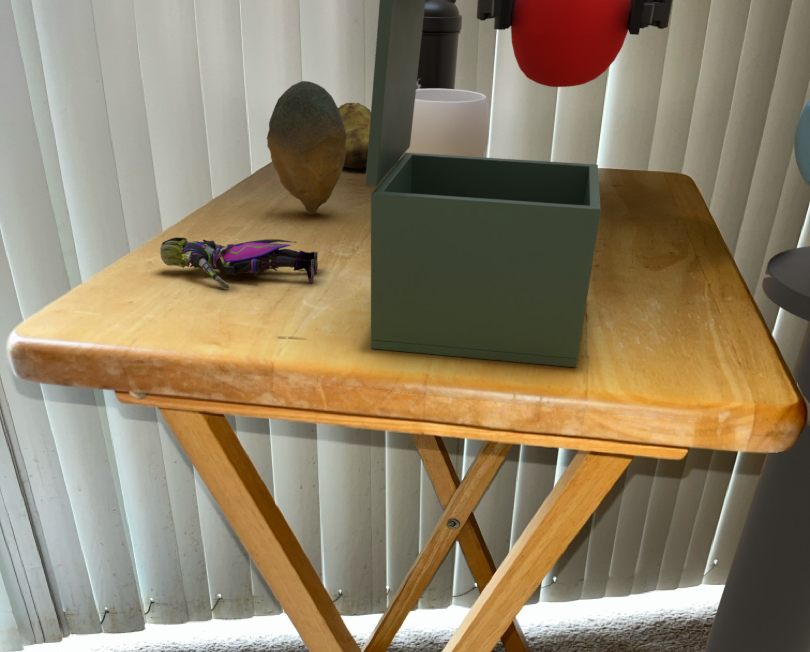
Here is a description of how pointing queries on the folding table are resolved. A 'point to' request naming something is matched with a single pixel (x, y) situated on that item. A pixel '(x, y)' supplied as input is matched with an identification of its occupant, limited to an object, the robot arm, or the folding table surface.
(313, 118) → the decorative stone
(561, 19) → the tomato
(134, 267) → the folding table surface
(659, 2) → the robot arm
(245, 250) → the character figure
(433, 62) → the water bottle
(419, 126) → the cup
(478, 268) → the storage box
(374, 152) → the lid
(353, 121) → the potato
